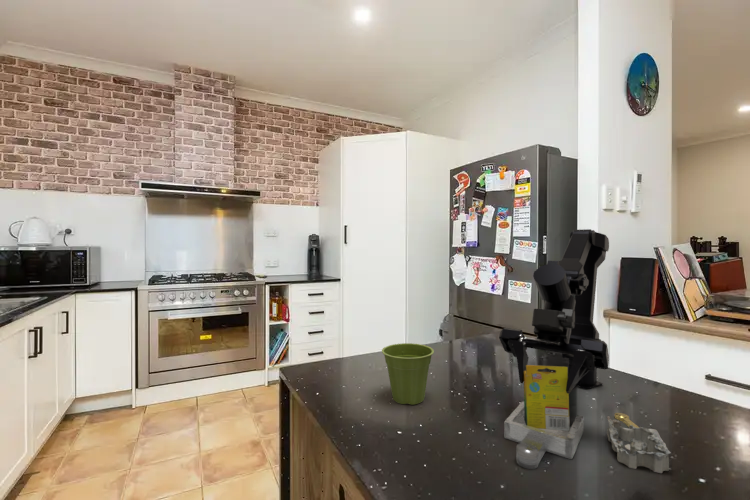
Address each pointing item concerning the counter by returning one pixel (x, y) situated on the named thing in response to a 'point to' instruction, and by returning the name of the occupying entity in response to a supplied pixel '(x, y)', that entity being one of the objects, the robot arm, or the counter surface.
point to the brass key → (625, 419)
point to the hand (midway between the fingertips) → (543, 387)
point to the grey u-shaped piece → (540, 439)
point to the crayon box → (546, 398)
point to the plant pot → (408, 371)
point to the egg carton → (639, 447)
